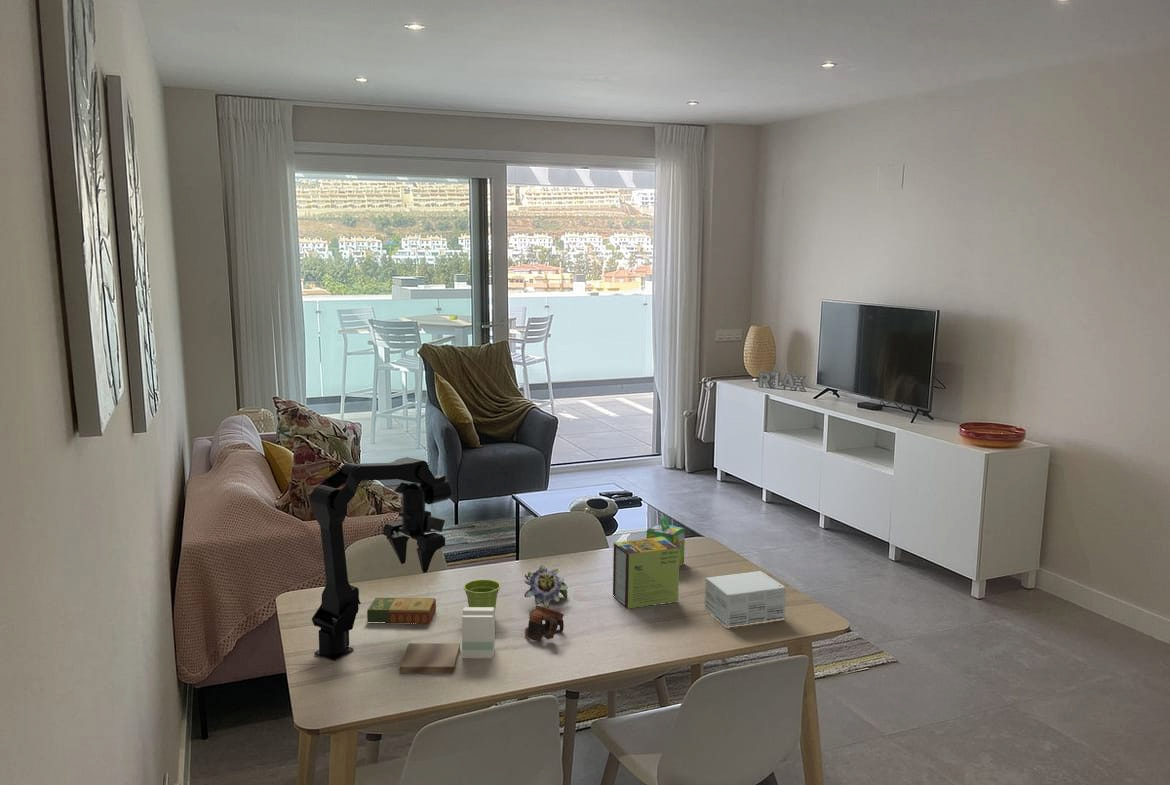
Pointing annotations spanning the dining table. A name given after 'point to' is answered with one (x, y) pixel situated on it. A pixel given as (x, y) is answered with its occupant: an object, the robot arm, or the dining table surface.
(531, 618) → the brown blocky piece
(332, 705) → the dining table surface
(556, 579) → the passion flower
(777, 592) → the supplement box
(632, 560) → the protein box
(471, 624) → the oat carton
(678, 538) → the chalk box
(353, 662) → the dining table surface
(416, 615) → the carton
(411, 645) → the plinth
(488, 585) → the plant pot
